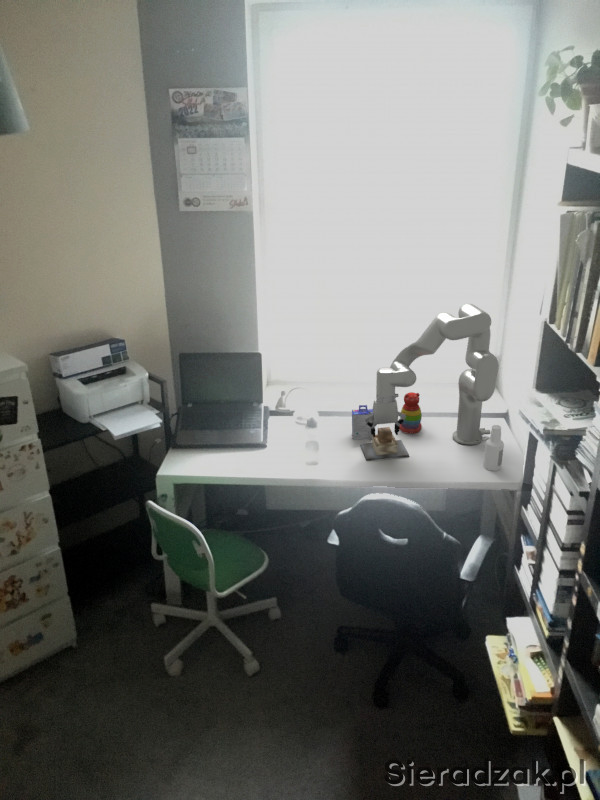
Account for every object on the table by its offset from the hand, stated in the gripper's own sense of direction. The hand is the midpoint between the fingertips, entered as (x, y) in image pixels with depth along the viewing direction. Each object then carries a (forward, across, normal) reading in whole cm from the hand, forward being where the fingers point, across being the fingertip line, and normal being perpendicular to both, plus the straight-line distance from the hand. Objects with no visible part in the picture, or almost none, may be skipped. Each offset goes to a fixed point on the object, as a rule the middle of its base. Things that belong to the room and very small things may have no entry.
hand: (384, 434), depth 267 cm
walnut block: (+3, 0, 0) cm, 3 cm away
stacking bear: (+8, -16, -18) cm, 25 cm away
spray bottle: (+8, -39, +20) cm, 45 cm away
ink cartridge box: (+8, +6, -14) cm, 18 cm away
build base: (+8, 0, 0) cm, 8 cm away
